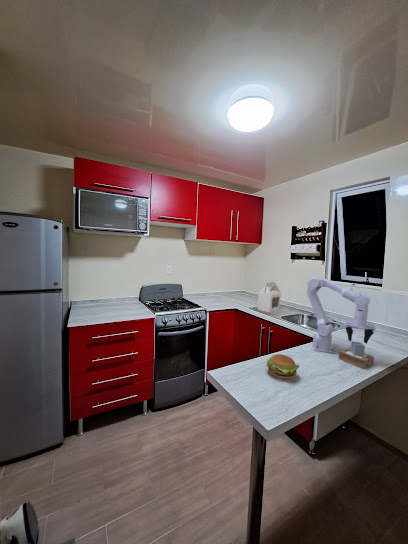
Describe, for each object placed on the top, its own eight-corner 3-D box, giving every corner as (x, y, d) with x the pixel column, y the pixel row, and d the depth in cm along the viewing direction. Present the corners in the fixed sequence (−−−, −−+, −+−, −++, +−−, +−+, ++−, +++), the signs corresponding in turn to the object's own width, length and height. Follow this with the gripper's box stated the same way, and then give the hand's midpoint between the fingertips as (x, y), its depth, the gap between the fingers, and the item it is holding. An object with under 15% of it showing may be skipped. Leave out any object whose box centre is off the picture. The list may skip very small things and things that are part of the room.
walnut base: (363, 368, 115) (364, 361, 114) (338, 358, 125) (339, 351, 124) (373, 363, 121) (374, 356, 121) (349, 354, 131) (349, 347, 131)
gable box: (269, 312, 220) (271, 284, 218) (257, 309, 229) (259, 282, 227) (279, 309, 236) (282, 282, 234) (267, 306, 245) (270, 281, 243)
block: (354, 355, 121) (355, 344, 120) (350, 351, 125) (351, 341, 125) (363, 356, 120) (364, 345, 119) (359, 353, 124) (360, 342, 124)
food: (260, 372, 105) (261, 355, 104) (274, 363, 115) (276, 348, 114) (288, 385, 95) (290, 367, 95) (302, 374, 105) (303, 358, 105)
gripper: (348, 317, 120) (345, 342, 122) (379, 321, 117) (376, 346, 119) (343, 314, 127) (340, 337, 128) (372, 317, 124) (369, 341, 125)
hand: (357, 341), depth 124 cm, fingers open, 7 cm apart
